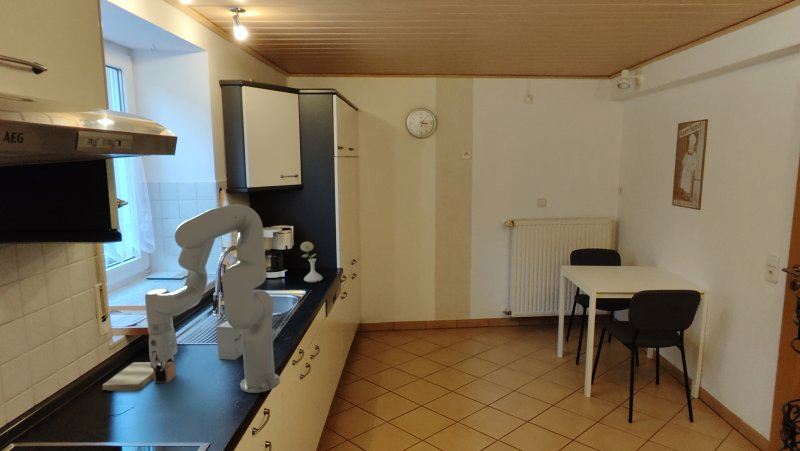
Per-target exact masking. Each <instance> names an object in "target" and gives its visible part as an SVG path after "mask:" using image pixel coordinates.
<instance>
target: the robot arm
mask: <svg viewBox="0 0 800 451" xmlns="http://www.w3.org/2000/svg"><path fill="white" fill-rule="evenodd" d="M261 219H262V218H261V217H260V215H259V214H258V213H257V212H256V210H254V209H253V208H251V206H248V205H244V204H239V203H237V204H236V203H233V204H228V205H227V204H226V205H223V206H218V207H213V208H211V209H208V210H206V211H205V212H202V213H200V214H198V215H196V216H194V217H191V218H190V219H188V220H185V221H183V222H182V223H180V224H179V225H178V227H176V230H175V232H174V240H175V243H176V245H177V246H178V247H179V248H181V251H180V254H179V257H178V260H177V263H178V265H179V266H180V267H181V268H182V269H184V270H187V277H186V280H185V282H184V285H183V287H182V288H179V289H177V290H173V291H172V292H170V291H169V290H168V289H165V288H164V289H163V288H159V289H153V290H150V291H148V292H146V294H145V295H144V299H145V300H144V302H145V311H146V320H147V331H148V332H147V333H148V352H149V354H148V355H149V361H150V362H151V363H150V367H151V368H153V369H154V371H155V377H156V382H155V383H166V382H165V381H166V374H165V370H164V362H175V355H176V354H177V353H178V350H179V349H178V341H177V334H176V331H175V328H174V322H173V316H178V315H181V314H183V313H184V312H186V311H188V310H190V309H192V308H194V307H195V306H197V305H198V304H199V303H200V302H201V300H202V299H203V296H204V293H205V291H206V287H207V285H208V272H207V268H206V267H207V263H208V260H209V257H210V255H211V253H212V252H211V251H212V249H213V246H214V243H215V241H216V239H217V238H219V237H220V238H221V237H222V236H224V235H228V234H231V233H234V232H236V233H237V238H236V243H235V250H236V263H234V264H232V265H231V266H229V267H228V268H227V269H226V270H225V272H224V274H223V277H222V294H223V305H224V313H225V314H224V315H225V318H226V321H228V323H229V324H230V326H231V327H233V328H234V329H236V330H242V347H243V354H242V357H243V359H242V360H243V371H244V372H243V373H244V378H243V379H242V380H241V381H240V382H239V386H240V390H241V391H243V392H245V393H249V394H258V393H265V392H268V391H270V390H274V389H275V388H277V387H278V386H279V384H280V382H281V377H280V376H279V374H277V373H275V369H276V368H275V356H274V342H273V341H274V340H273V313H274V302H273V299H272V296H271V295H270V294H269V292H267V291H265V290H262V289H256V288H258V287H259V286H261V285H262V284H264V282H265V281H266V279H267V264H266V263H267V262H266V251H265V242H264V240H265V239H264V238H265V237H264V228H263V227H264V225H263V222H262V220H261ZM158 363H161V366H159V365H158Z"/></svg>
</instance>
